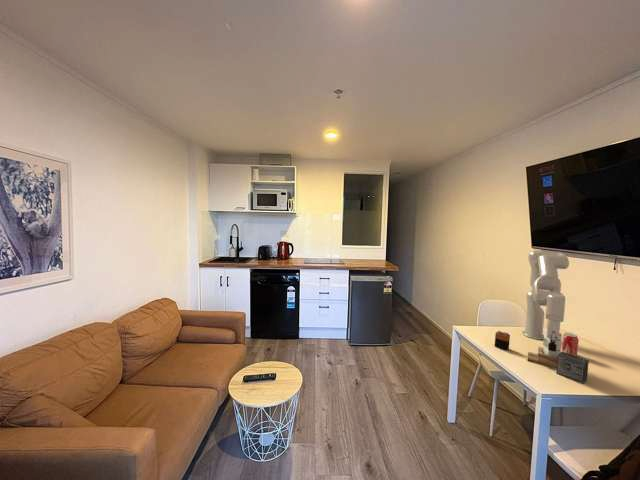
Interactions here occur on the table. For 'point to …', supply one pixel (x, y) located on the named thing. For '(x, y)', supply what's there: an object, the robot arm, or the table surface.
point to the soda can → (570, 343)
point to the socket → (543, 358)
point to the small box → (572, 367)
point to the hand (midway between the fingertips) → (551, 347)
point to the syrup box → (546, 344)
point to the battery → (502, 340)
